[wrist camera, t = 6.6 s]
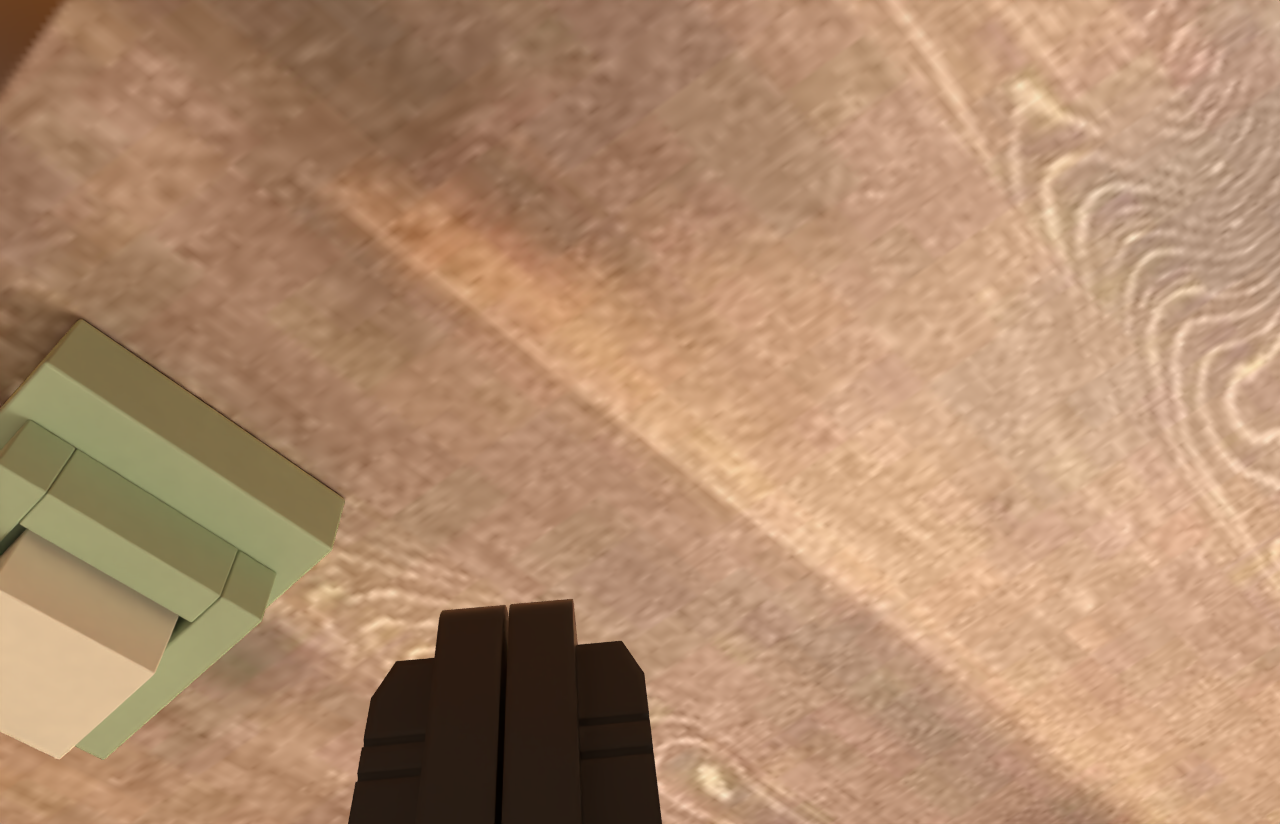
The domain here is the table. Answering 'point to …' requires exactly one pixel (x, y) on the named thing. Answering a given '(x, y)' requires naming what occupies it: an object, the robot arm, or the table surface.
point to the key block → (157, 505)
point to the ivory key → (69, 644)
